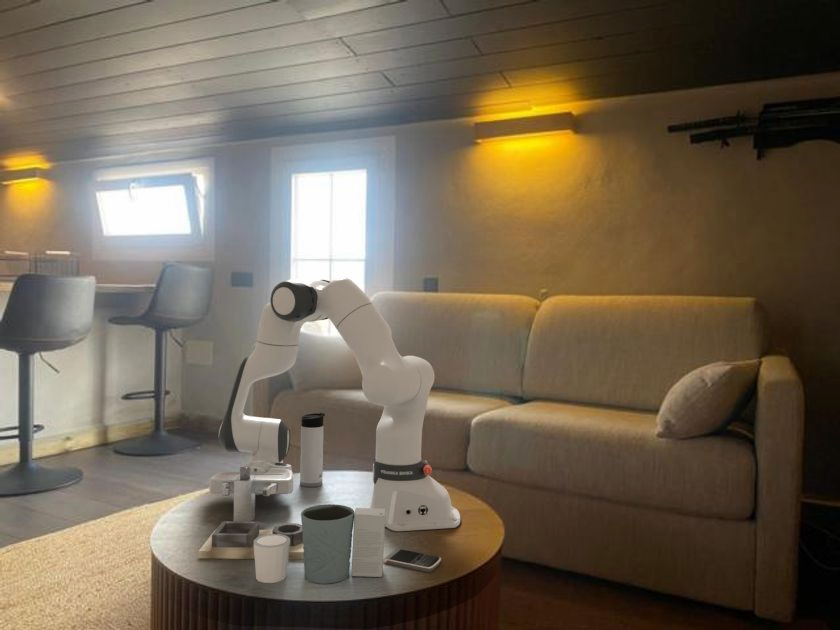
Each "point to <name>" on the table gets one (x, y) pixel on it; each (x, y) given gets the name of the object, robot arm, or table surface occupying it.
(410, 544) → the table surface
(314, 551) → the green cylindrical pot
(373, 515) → the skincare box
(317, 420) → the travel mug
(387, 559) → the cell phone
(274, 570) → the white cup
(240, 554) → the socket board
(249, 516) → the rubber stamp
